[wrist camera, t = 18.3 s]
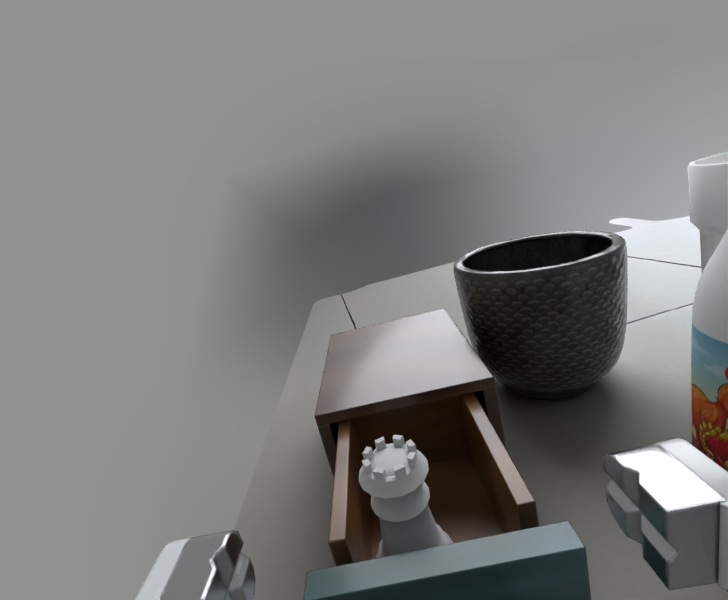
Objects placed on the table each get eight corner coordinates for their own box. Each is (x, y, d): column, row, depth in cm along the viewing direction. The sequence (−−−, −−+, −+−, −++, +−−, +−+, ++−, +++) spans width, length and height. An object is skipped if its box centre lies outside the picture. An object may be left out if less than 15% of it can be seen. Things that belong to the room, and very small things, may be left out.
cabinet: (512, 488, 26) (494, 376, 24) (347, 521, 27) (314, 416, 25) (458, 385, 40) (444, 308, 38) (351, 408, 41) (330, 334, 39)
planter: (561, 445, 29) (542, 281, 25) (446, 382, 41) (423, 267, 38) (669, 372, 34) (666, 228, 31) (538, 336, 46) (525, 231, 43)
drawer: (685, 850, 11) (682, 698, 10) (343, 902, 12) (279, 766, 10) (489, 455, 28) (475, 373, 27) (352, 484, 29) (329, 405, 27)
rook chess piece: (388, 647, 17) (344, 504, 15) (373, 558, 21) (337, 437, 19) (483, 615, 17) (453, 471, 15) (449, 534, 22) (422, 413, 20)
